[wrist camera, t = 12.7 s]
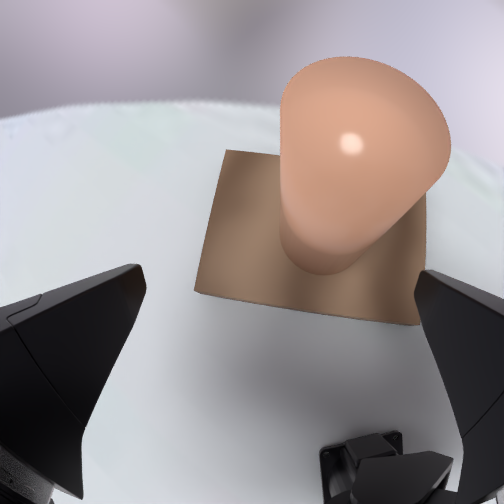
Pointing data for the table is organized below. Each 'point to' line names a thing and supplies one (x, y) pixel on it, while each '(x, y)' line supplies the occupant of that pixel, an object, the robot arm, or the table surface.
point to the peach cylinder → (353, 158)
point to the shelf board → (285, 271)
